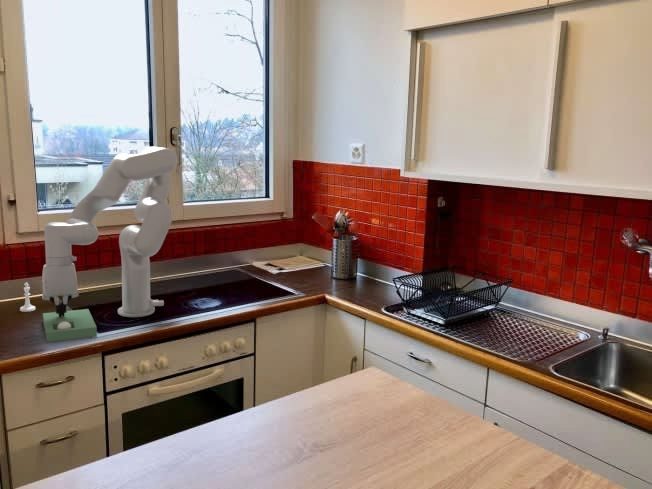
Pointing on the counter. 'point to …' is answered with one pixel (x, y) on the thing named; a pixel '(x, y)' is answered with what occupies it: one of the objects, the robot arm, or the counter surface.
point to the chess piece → (27, 300)
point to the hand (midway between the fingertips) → (61, 315)
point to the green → (78, 320)
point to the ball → (64, 325)
